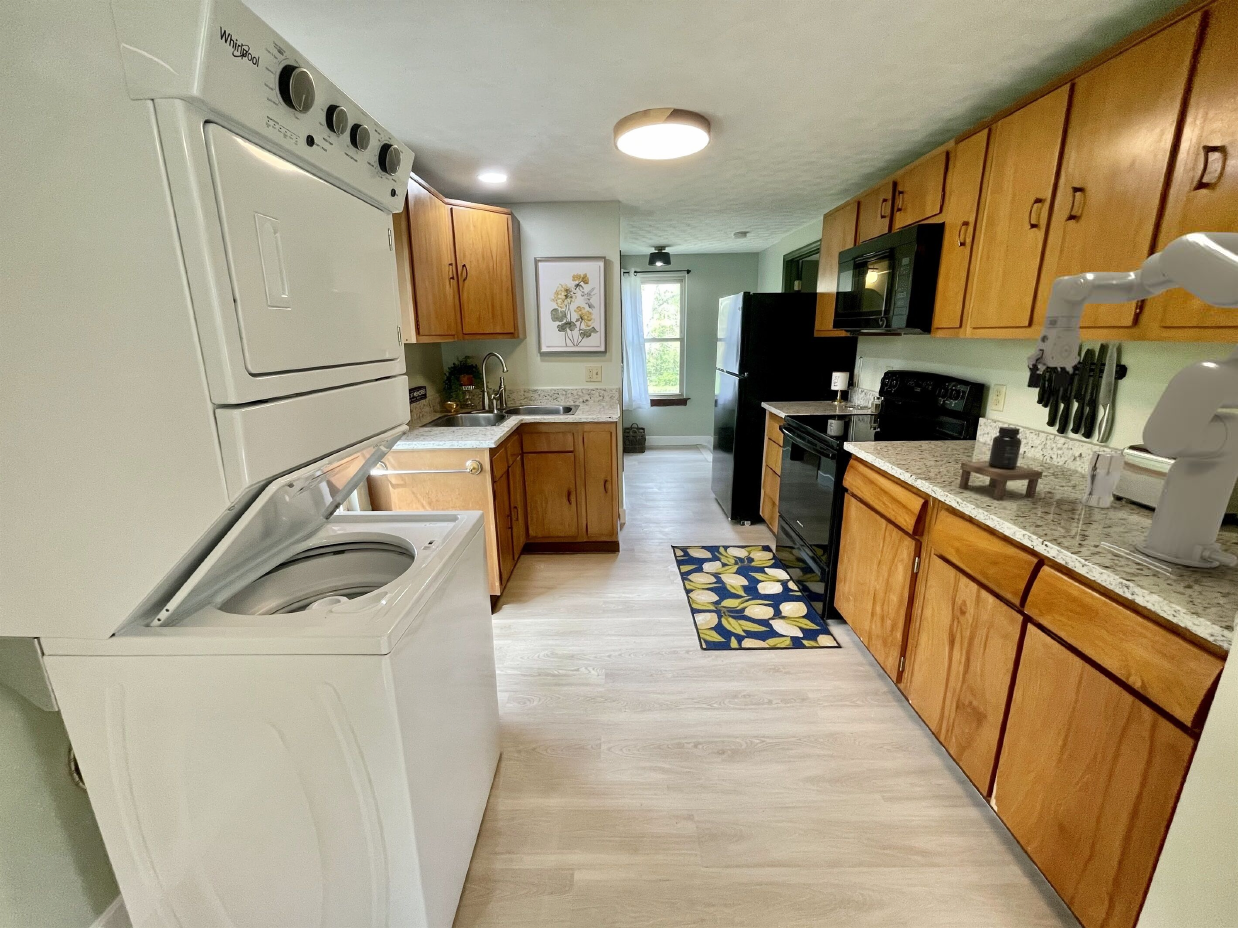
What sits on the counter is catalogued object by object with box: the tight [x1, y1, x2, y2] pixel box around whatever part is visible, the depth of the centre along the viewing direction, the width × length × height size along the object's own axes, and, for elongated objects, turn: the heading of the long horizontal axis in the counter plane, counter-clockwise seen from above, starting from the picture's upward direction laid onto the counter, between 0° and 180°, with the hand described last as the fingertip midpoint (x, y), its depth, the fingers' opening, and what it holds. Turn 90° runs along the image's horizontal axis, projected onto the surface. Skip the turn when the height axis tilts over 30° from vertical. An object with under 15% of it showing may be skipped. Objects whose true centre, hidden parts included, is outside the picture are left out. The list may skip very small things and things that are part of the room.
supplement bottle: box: [988, 426, 1022, 470], centre depth 149 cm, size 7×7×12 cm
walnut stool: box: [958, 460, 1044, 502], centre depth 151 cm, size 14×14×8 cm
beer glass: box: [1080, 450, 1126, 509], centre depth 141 cm, size 7×7×15 cm
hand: (1046, 387), depth 140 cm, fingers open, 9 cm apart
